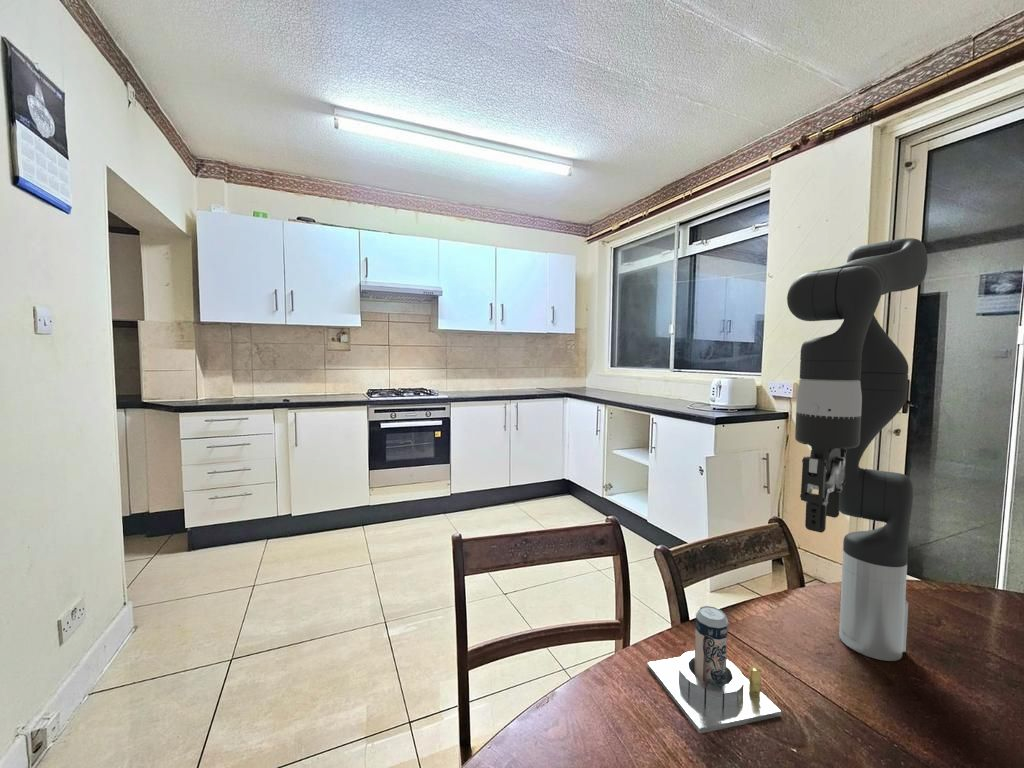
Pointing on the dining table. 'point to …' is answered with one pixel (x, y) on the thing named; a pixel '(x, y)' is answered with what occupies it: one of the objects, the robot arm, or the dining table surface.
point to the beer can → (711, 645)
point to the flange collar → (714, 694)
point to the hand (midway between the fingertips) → (822, 522)
